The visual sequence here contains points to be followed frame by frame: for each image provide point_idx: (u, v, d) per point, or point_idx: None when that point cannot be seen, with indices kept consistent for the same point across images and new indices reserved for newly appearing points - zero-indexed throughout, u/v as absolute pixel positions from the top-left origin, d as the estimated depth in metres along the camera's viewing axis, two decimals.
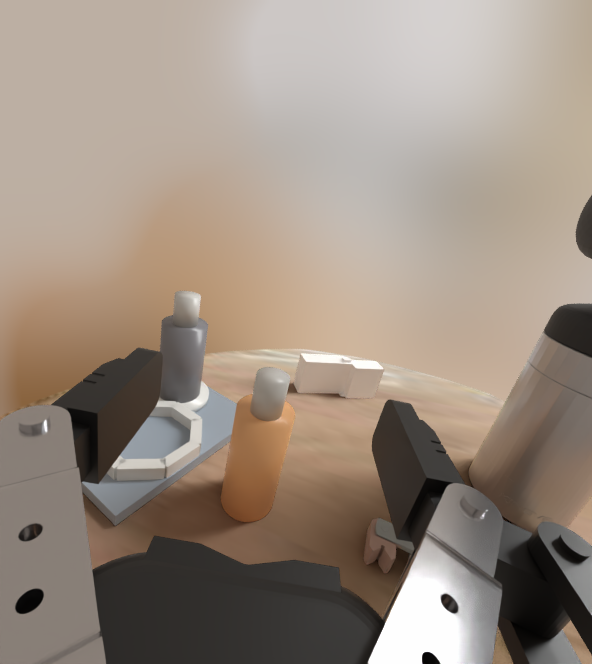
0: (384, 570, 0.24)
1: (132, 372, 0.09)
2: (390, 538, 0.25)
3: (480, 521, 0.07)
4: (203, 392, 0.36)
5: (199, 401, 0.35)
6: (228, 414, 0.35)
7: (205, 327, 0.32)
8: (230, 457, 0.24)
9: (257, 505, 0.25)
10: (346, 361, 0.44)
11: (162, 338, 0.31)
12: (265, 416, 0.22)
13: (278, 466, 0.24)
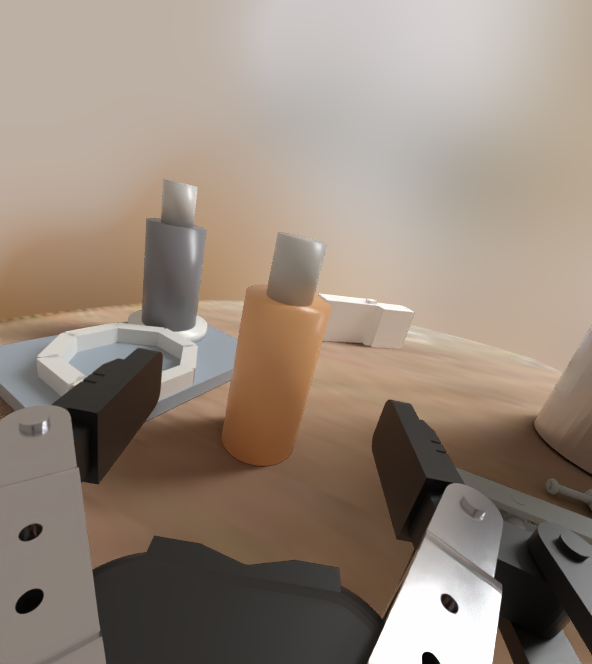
0: None
1: (132, 372, 0.09)
2: None
3: (480, 521, 0.07)
4: (200, 324, 0.29)
5: (194, 332, 0.27)
6: (231, 349, 0.27)
7: (203, 230, 0.25)
8: (236, 367, 0.17)
9: (274, 439, 0.17)
10: (371, 302, 0.37)
11: (146, 240, 0.24)
12: (290, 297, 0.15)
13: (306, 381, 0.17)
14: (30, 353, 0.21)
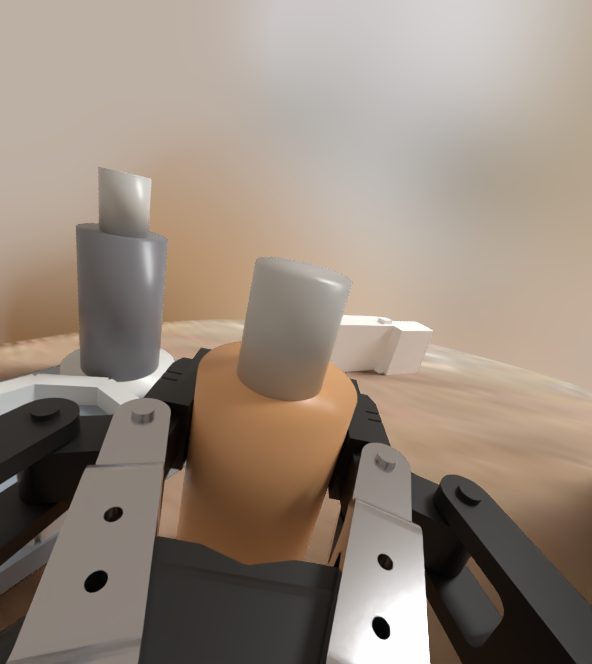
0: None
1: None
2: None
3: (388, 472, 0.07)
4: (164, 366, 0.21)
5: (154, 380, 0.20)
6: None
7: (161, 241, 0.18)
8: (185, 499, 0.09)
9: None
10: (386, 322, 0.31)
11: (77, 255, 0.17)
12: (281, 386, 0.08)
13: (311, 524, 0.09)
14: None
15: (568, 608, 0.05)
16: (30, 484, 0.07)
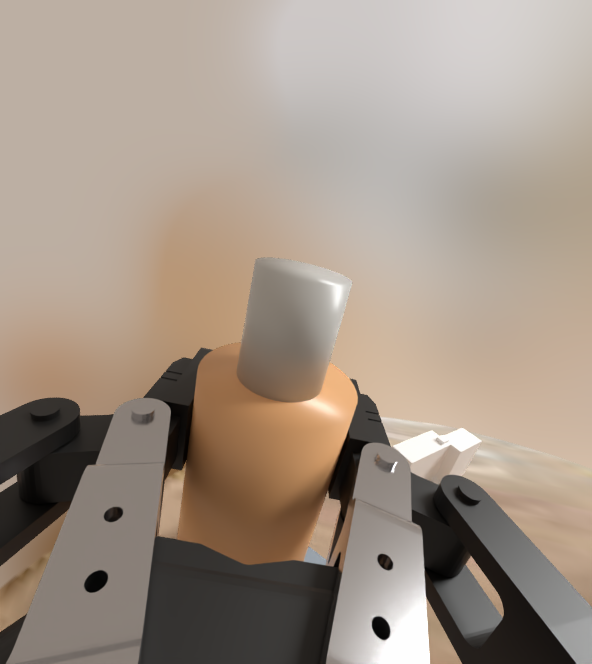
0: None
1: None
2: None
3: (387, 472, 0.07)
4: None
5: None
6: None
7: None
8: (185, 500, 0.09)
9: None
10: (445, 442, 0.33)
11: None
12: (281, 387, 0.08)
13: (312, 525, 0.09)
14: None
15: (568, 608, 0.05)
16: (30, 484, 0.07)
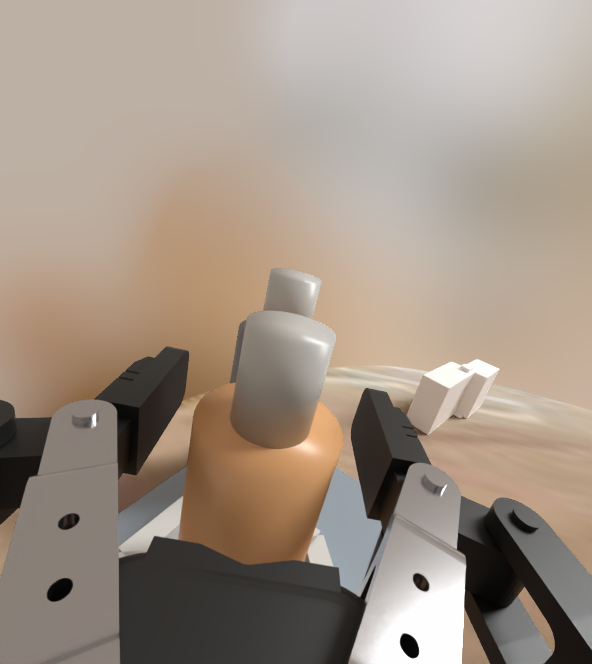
0: None
1: (165, 369, 0.10)
2: None
3: (438, 496, 0.07)
4: None
5: None
6: (351, 506, 0.18)
7: None
8: (181, 537, 0.10)
9: None
10: (470, 370, 0.31)
11: None
12: (271, 435, 0.08)
13: (301, 559, 0.10)
14: None
15: None
16: None
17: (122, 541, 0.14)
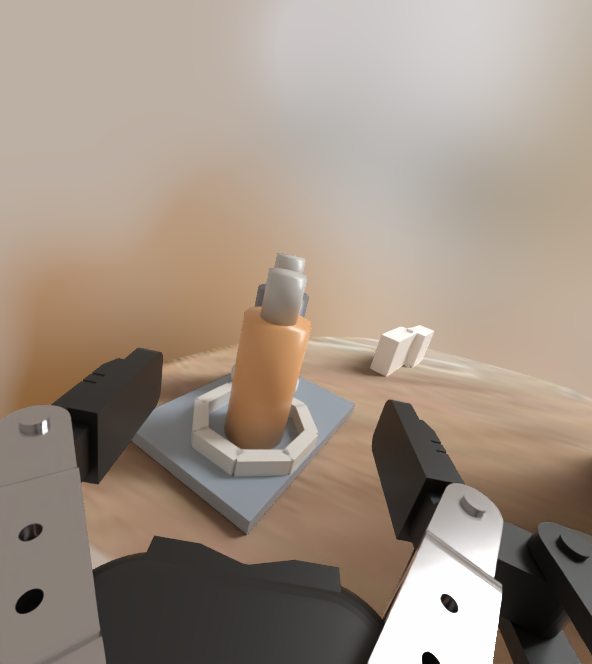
0: None
1: (132, 372, 0.09)
2: None
3: (480, 521, 0.07)
4: None
5: None
6: (325, 402, 0.30)
7: (307, 297, 0.27)
8: (236, 373, 0.21)
9: (267, 430, 0.21)
10: (413, 331, 0.43)
11: None
12: (279, 319, 0.19)
13: (292, 384, 0.21)
14: (172, 420, 0.23)
15: None
16: None
17: (194, 402, 0.25)
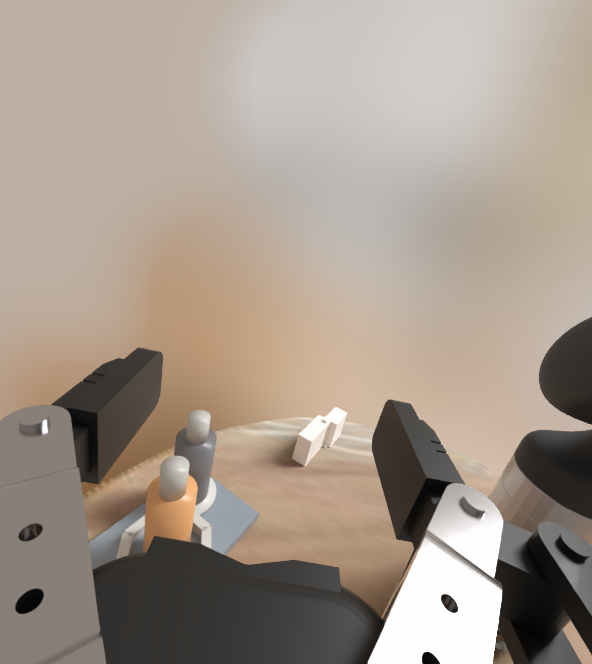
0: None
1: (132, 372, 0.09)
2: None
3: (480, 521, 0.07)
4: (211, 490, 0.40)
5: (208, 502, 0.38)
6: (234, 513, 0.39)
7: (214, 441, 0.36)
8: (144, 527, 0.30)
9: None
10: (327, 421, 0.53)
11: (176, 454, 0.35)
12: (168, 498, 0.28)
13: (184, 534, 0.30)
14: (104, 551, 0.32)
15: None
16: None
17: (125, 528, 0.34)
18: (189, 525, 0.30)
